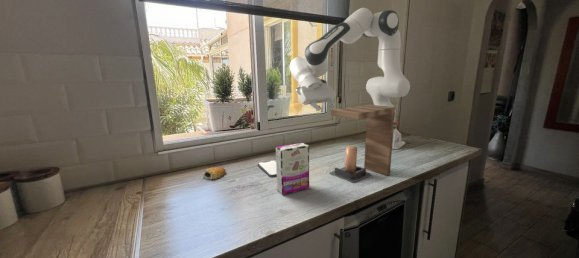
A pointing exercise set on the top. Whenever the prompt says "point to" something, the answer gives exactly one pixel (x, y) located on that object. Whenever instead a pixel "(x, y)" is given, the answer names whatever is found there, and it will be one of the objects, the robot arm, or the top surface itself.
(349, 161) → the terracotta spice jar
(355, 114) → the walnut shelf
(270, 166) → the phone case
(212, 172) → the pastry
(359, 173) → the tray
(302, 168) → the candy bar box
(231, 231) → the top surface
